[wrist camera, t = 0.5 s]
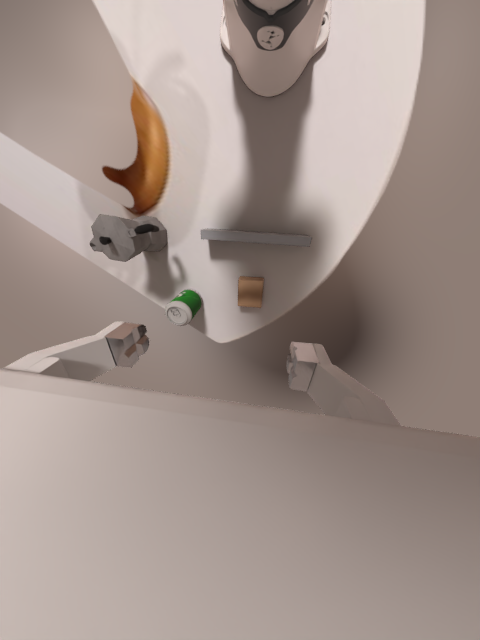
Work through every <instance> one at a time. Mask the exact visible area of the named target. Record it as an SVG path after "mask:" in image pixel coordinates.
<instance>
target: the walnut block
mask: <svg viewBox="0 0 480 640" xmlns="http://www.w3.org/2000/svg"><path fill="white" fill-rule="evenodd" d="M263 282H264V278H261V277H245V276H240V277H239V280H238V306H245V307H258V308H261V304H262V293H263Z"/></svg>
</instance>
